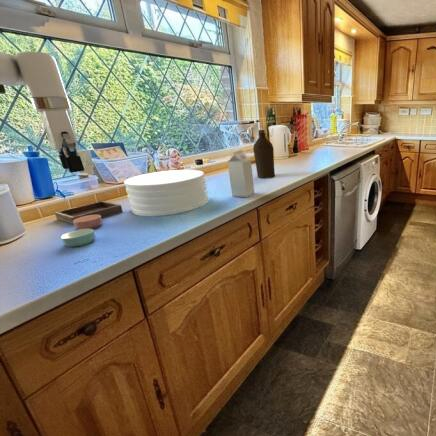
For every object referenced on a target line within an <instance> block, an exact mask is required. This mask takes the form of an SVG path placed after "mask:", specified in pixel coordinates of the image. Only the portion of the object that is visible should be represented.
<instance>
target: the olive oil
mask: <svg viewBox="0 0 436 436" xmlns="http://www.w3.org/2000/svg"><path fill="white" fill-rule="evenodd" d="M257 132H258V138H257V140H256V141H255V142H254V143H253V149H252V150H253V155H254V162H255V167H256V168H255V169H256V174H257V175H256V176H257V178H258V179H271V178H274V177H276V176H275V175H276V174H275V159H274V158H275V156H274V154H275V153H274V146H273V143H272V142H271V141H270V140H269V139H268V138H267V137H266V132H265V129H258V131H257Z"/></svg>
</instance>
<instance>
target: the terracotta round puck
mask: <svg viewBox="0 0 436 436" xmlns="http://www.w3.org/2000/svg"><path fill="white" fill-rule="evenodd" d="M73 222H74V225H73V226H74V228H75V229H78V230H79V229H95V228H98V227H99V226H100V225H101V224H103V222H104V221H103V218H101V215H87V216H83V217H79V218H76V219H74V220H73Z"/></svg>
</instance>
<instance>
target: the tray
mask: <svg viewBox="0 0 436 436" xmlns="http://www.w3.org/2000/svg"><path fill="white" fill-rule="evenodd" d="M123 212H124V211H123V207H122V204H118V203H113V202H109V201H105V200H100V201H96V202H92V203H87V204H84V205H79V206H75V207H71V208H67V209H63V210H59V211H55V212H54V215H55V218H56V220H57V221H60V222H62V223H66V224H69V225H72V226H75V225H74V222H73V220H74V219H76V218H79V217H83V216H87V215H101V218H102V219H103V218H106V217H110V216H113V215H117V214H120V213H123Z"/></svg>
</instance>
